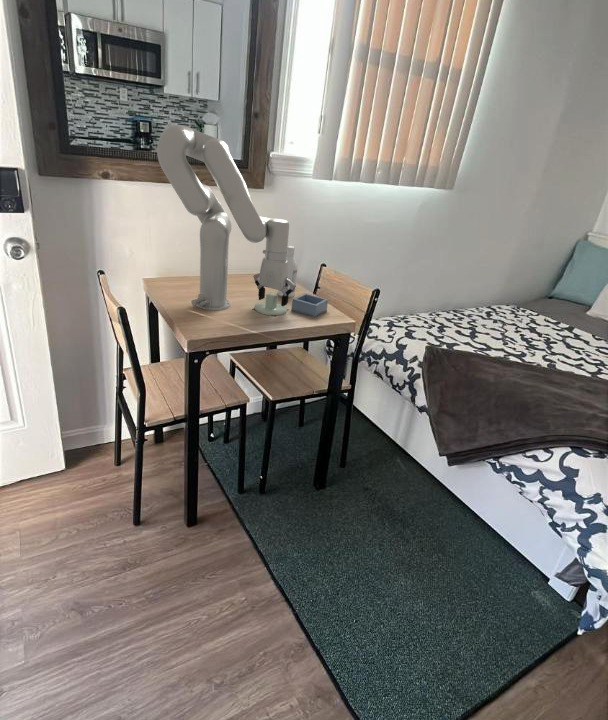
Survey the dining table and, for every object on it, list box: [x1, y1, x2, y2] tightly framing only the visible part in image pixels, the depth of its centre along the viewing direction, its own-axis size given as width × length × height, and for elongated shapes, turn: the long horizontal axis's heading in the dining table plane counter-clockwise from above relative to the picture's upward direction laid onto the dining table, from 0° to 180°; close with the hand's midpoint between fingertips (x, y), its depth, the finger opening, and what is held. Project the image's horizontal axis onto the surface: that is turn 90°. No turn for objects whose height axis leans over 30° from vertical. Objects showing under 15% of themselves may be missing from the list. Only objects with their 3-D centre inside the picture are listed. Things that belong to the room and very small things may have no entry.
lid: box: [253, 292, 288, 316], centre depth 165 cm, size 12×12×6 cm
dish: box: [291, 292, 329, 318], centre depth 170 cm, size 10×10×5 cm
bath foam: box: [277, 245, 298, 298], centre depth 181 cm, size 7×7×20 cm
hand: (272, 302), depth 166 cm, fingers open, 9 cm apart
